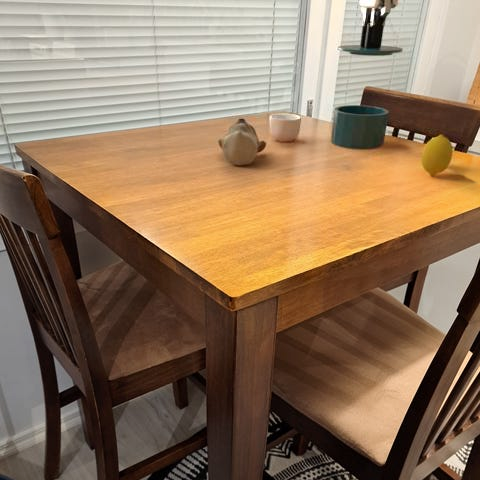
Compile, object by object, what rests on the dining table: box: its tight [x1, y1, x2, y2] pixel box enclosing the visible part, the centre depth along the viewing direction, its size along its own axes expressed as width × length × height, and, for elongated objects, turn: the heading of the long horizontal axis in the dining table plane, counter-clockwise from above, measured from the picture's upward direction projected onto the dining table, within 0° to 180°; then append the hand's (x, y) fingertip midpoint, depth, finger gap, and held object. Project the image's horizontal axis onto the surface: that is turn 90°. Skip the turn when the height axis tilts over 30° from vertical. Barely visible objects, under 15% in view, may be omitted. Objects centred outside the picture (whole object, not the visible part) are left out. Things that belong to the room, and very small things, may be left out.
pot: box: [330, 104, 390, 150], centre depth 120 cm, size 13×13×8 cm
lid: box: [337, 23, 403, 57], centre depth 106 cm, size 14×14×6 cm
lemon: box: [421, 134, 453, 177], centre depth 97 cm, size 6×6×8 cm
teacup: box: [268, 113, 302, 143], centre depth 123 cm, size 10×8×5 cm
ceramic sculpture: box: [217, 117, 267, 167], centre depth 106 cm, size 11×9×15 cm
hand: (370, 46), depth 107 cm, fingers closed on lid, 2 cm apart
